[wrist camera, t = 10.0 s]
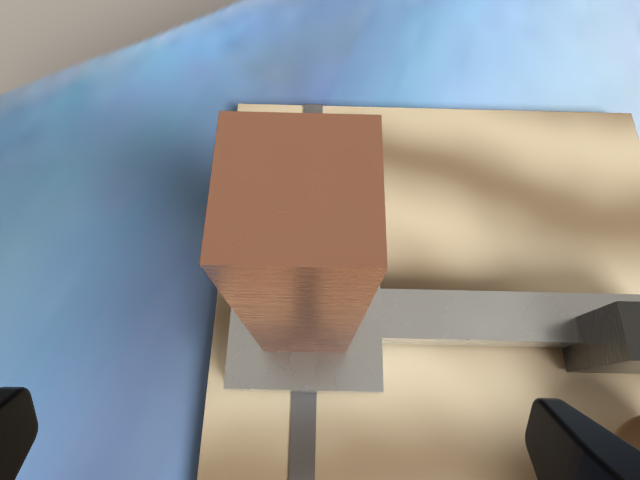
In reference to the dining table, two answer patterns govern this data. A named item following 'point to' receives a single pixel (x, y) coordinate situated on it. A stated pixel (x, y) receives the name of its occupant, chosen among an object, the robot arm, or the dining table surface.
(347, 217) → the slider
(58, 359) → the dining table surface
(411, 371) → the press base
